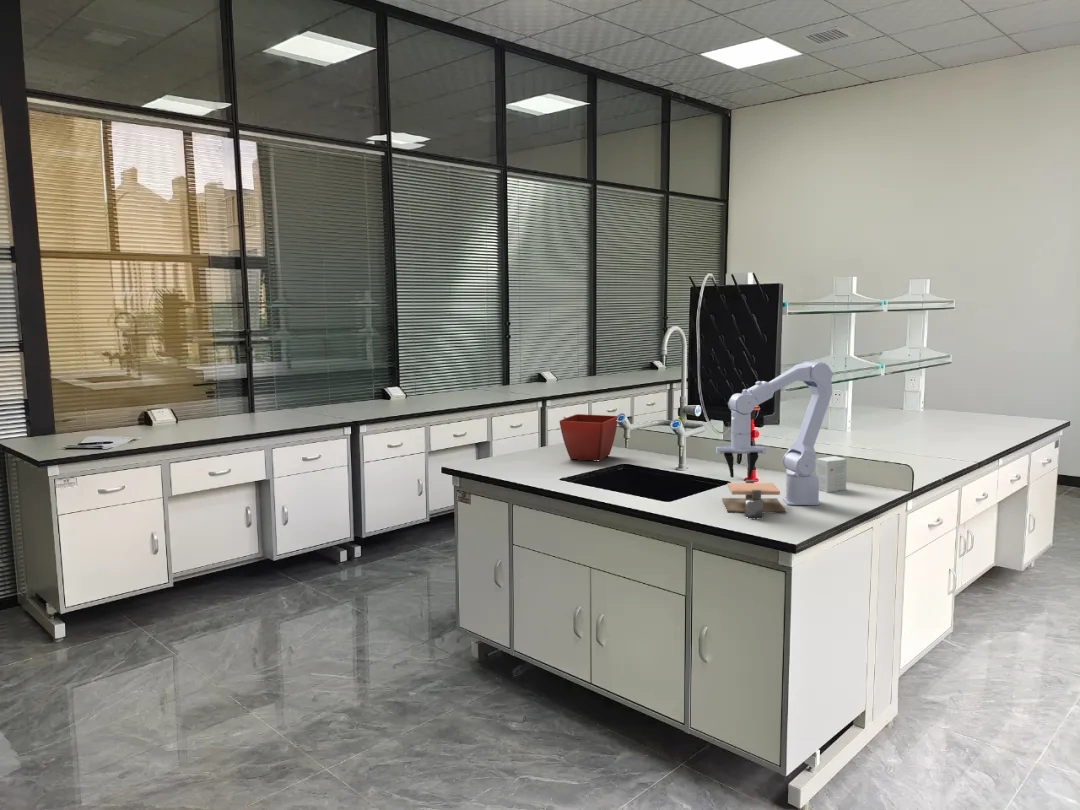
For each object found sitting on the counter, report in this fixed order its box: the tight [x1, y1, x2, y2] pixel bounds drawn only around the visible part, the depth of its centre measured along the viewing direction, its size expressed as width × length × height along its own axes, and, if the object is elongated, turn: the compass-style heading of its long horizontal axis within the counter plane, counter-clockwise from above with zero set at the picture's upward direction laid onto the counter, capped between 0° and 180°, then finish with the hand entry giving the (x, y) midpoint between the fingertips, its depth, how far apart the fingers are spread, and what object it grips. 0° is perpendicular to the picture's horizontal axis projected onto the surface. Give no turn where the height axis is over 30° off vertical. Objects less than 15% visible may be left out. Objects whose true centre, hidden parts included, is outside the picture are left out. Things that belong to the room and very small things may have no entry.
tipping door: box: [727, 482, 781, 496], centre depth 236 cm, size 14×12×1 cm
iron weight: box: [744, 498, 764, 520], centre depth 224 cm, size 5×5×5 cm
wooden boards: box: [721, 479, 787, 513], centre depth 236 cm, size 17×15×6 cm
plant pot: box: [559, 413, 619, 461], centre depth 317 cm, size 19×19×17 cm
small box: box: [815, 455, 848, 493], centre depth 254 cm, size 8×6×10 cm
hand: (740, 476), depth 235 cm, fingers open, 5 cm apart
